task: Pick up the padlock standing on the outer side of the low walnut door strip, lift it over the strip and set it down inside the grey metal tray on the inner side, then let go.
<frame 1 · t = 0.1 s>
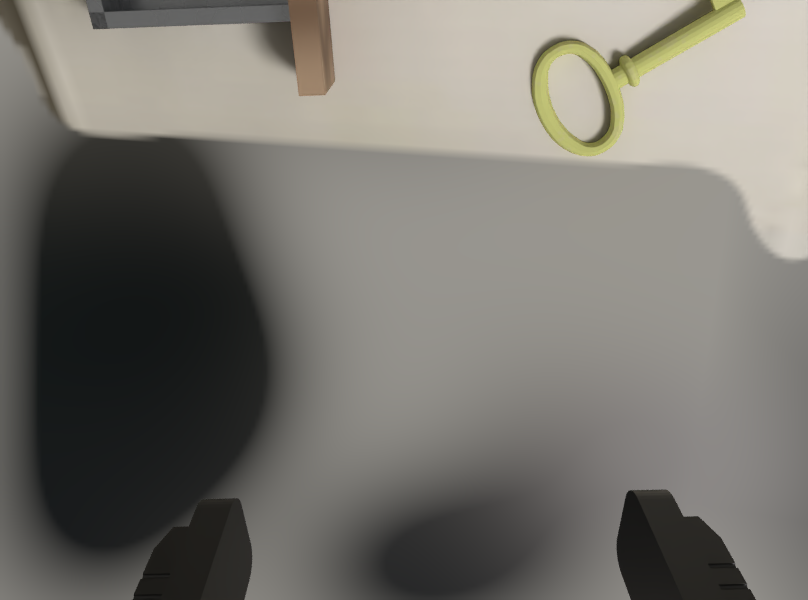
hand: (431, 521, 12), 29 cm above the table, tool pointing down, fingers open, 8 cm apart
key: (621, 67, 36), on the table
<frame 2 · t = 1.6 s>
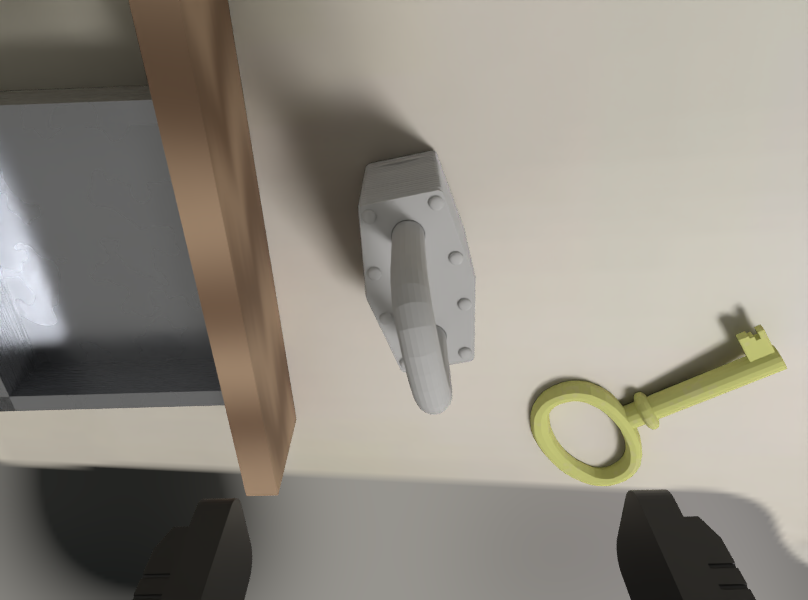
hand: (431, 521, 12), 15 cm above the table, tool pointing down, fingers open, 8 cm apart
key: (636, 394, 30), on the table
grey metal tray: (108, 245, 25), on the table
door strip: (250, 241, 25), on the table
padlock: (417, 233, 25), on the table
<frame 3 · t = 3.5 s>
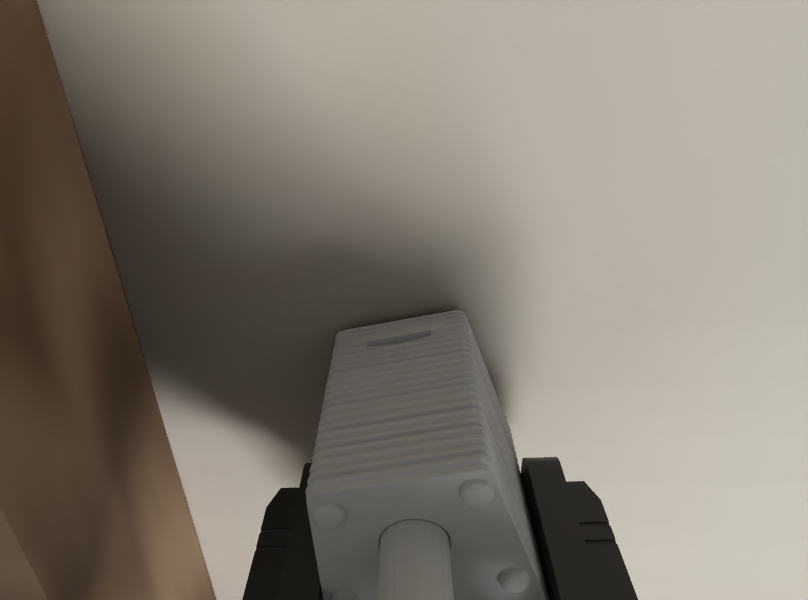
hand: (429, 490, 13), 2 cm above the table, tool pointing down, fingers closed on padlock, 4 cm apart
door strip: (140, 441, 15), on the table
padlock: (428, 429, 15), on the table, touching gripper
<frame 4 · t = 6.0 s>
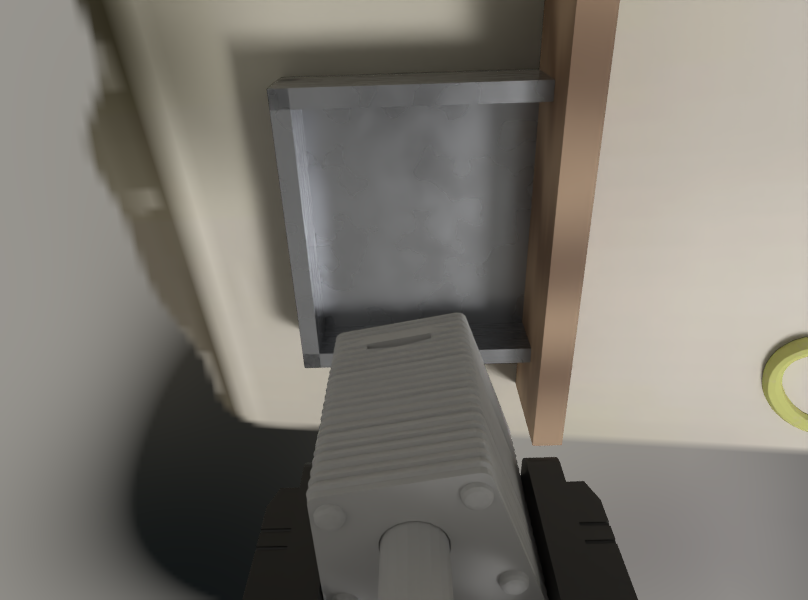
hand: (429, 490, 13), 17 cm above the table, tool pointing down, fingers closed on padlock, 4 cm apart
grey metal tray: (413, 217, 28), on the table
door strip: (543, 213, 28), on the table
padlock: (428, 430, 15), point 15 cm above the table, touching gripper
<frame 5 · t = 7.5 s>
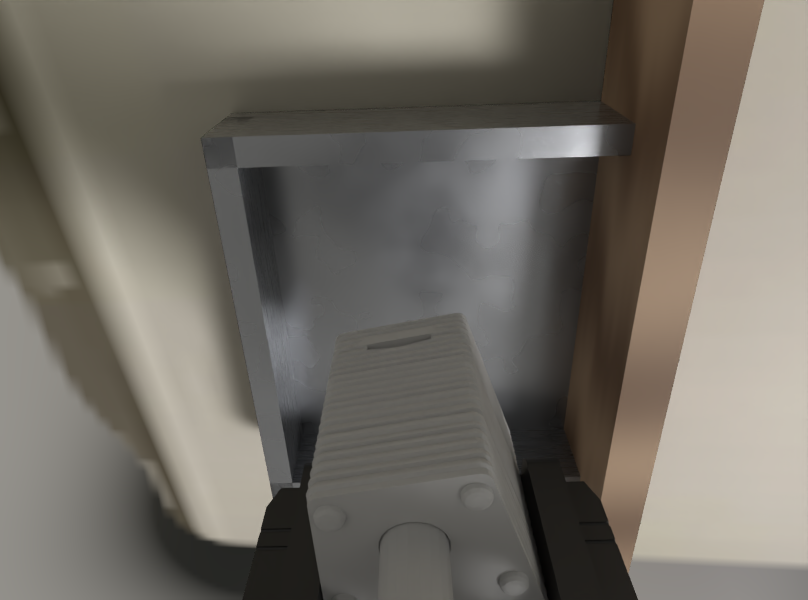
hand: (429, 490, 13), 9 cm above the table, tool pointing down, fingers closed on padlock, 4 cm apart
grey metal tray: (419, 298, 21), on the table
door strip: (596, 293, 20), on the table
padlock: (428, 431, 15), point 7 cm above the table, touching gripper
when the fingers open (4 cm above the table, at t = 8.7 s): padlock drops 2 cm, resting on grey metal tray.
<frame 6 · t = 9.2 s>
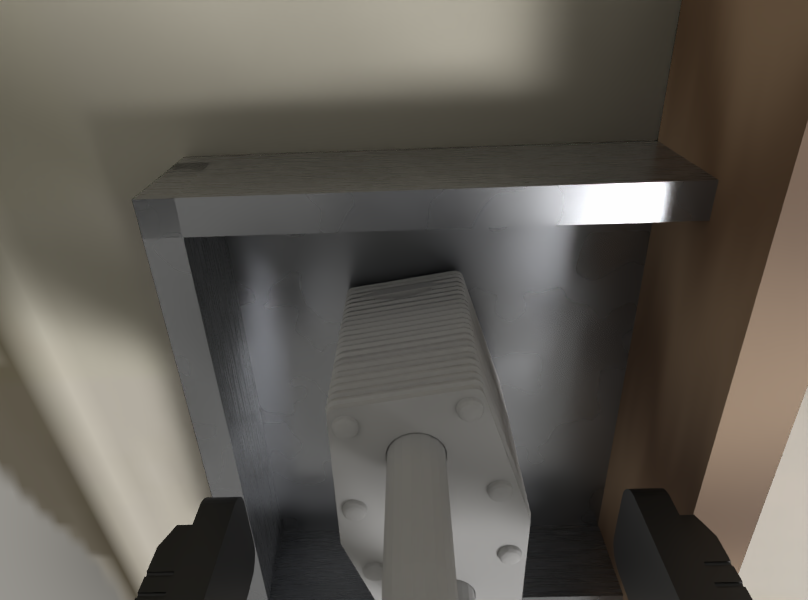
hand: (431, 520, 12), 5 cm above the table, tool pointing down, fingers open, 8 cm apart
grey metal tray: (424, 376, 17), on the table
door strip: (642, 370, 17), on the table
padlock: (426, 382, 16), resting on grey metal tray
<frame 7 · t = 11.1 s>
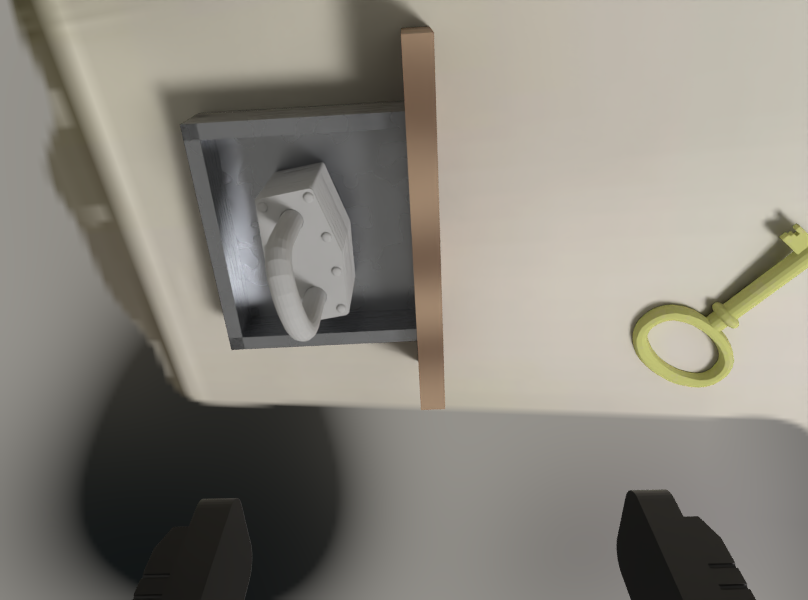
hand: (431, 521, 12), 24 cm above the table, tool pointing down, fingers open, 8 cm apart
key: (715, 305, 37), on the table
grey metal tray: (316, 223, 34), on the table
door strip: (423, 217, 34), on the table
padlock: (317, 224, 34), resting on grey metal tray
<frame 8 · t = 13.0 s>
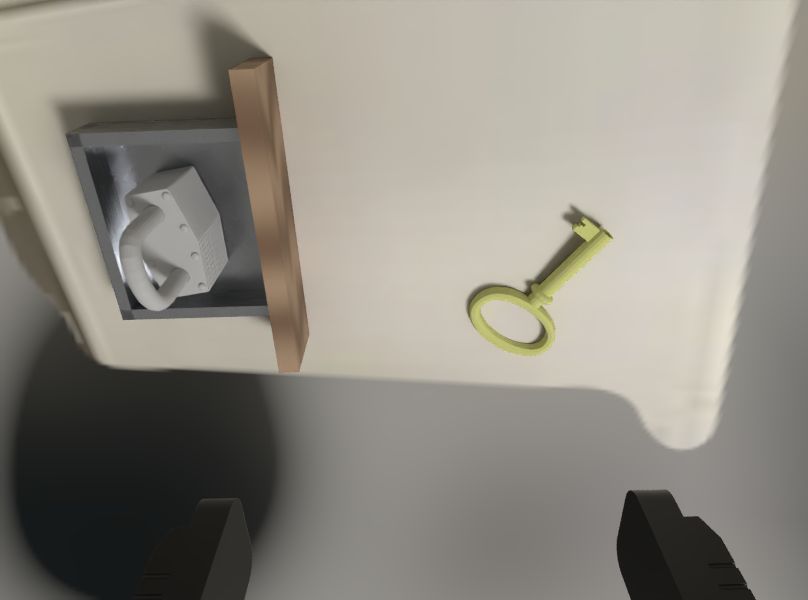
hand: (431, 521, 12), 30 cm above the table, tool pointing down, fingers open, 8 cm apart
key: (537, 286, 44), on the table
grey metal tray: (194, 215, 41), on the table
door strip: (282, 212, 41), on the table
padlock: (193, 216, 41), resting on grey metal tray
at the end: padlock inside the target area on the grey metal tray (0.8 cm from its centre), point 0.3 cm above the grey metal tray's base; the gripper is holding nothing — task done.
